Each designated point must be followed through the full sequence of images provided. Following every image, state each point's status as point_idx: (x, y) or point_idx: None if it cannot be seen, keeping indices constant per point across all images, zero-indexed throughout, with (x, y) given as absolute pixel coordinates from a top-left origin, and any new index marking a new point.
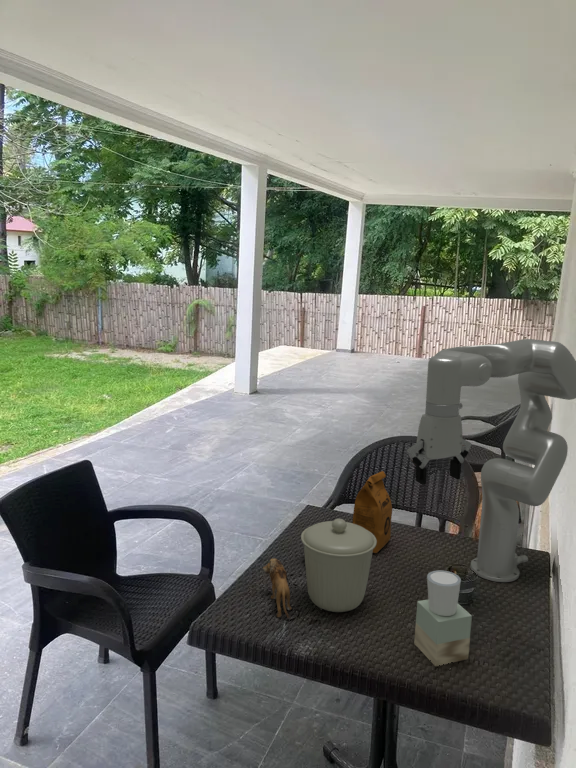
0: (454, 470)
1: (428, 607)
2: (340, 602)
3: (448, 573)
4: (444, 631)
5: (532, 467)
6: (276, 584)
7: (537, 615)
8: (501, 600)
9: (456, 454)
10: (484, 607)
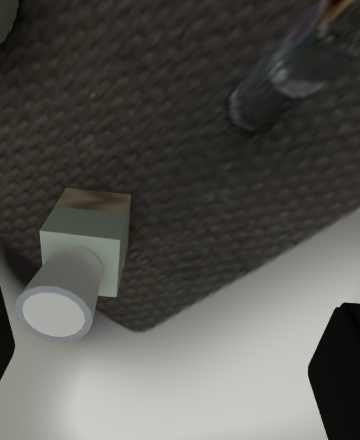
0: (342, 404)
1: (51, 253)
2: None
3: (77, 306)
4: None
5: None
6: None
7: (332, 214)
8: (326, 152)
9: None
10: (271, 156)
